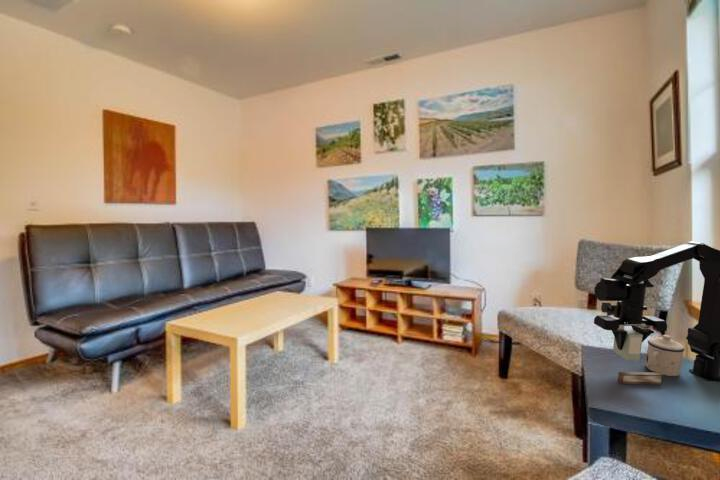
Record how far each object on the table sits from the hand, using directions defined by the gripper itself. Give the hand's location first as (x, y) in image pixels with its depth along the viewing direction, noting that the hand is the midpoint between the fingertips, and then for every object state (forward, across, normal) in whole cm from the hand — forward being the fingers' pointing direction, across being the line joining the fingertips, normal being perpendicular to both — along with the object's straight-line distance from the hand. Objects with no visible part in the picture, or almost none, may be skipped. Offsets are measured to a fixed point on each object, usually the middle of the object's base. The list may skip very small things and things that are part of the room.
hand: (626, 349), depth 113 cm
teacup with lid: (+9, -14, -4) cm, 17 cm away
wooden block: (+9, -2, +4) cm, 10 cm away
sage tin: (+2, 0, 0) cm, 2 cm away
